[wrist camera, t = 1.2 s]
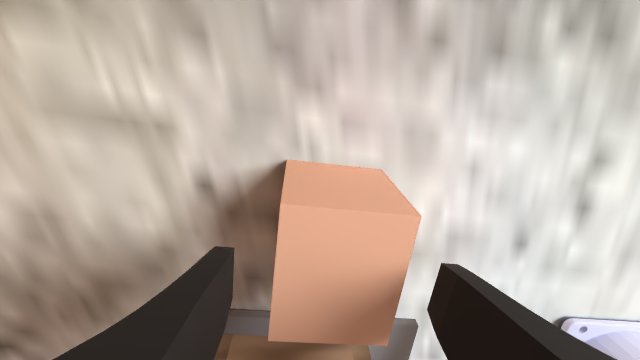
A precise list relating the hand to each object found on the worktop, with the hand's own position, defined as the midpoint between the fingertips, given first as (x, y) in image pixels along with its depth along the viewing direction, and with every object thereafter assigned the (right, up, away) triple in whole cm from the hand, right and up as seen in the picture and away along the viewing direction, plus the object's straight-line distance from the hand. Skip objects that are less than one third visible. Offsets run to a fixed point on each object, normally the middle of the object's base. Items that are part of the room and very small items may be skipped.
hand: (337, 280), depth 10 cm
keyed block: (0, +2, +5) cm, 5 cm away
